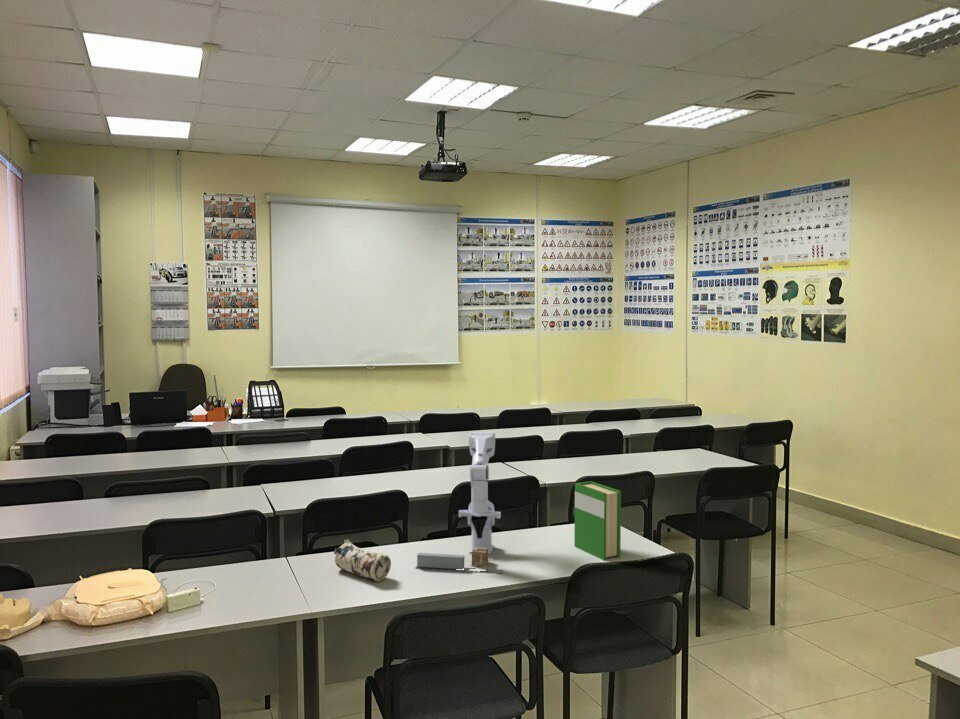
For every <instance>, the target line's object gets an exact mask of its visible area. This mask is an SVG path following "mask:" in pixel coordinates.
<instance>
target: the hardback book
mask: <svg viewBox="0 0 960 719" xmlns="http://www.w3.org/2000/svg"><path fill="white" fill-rule="evenodd" d="M621 504H622V491H621V490H619V489H616V488H613V487H610V486H606V485H604V484H600V483H597V482H593V481H591V480H590V481H583V482H576V483H574V548H577V549H579V550H581V551H583V552H585V553H586V554H589V555H591V556H594V557H596V558H598V559H600V560H602V561H606V560H607V558H611V557H616V558H621V539H622V538H621V535H622V534H621V525H622V524H621V521H622V518H621V513H622V512H621V511H622V505H621Z"/></svg>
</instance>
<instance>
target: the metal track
mask: <svg viewBox="0 0 960 719" xmlns="http://www.w3.org/2000/svg"><path fill="white" fill-rule="evenodd" d="M415 568H420V569H419V570H432V569H436V570H435V571H448V570H456V569H451V568H434V567H418V566H417V565H416V567H415ZM470 569H476V568H475V567H464V571H469V570H470ZM486 569H487V570H486V571H480V572H479V573H481V572H487V573H486V574H498V575H501V574H503V572H504V569H495V568H493V569H492V568H486ZM464 571H463V572H464ZM455 572H458V571H457V570H456V571H455ZM475 573H478V572H477V571H476V572H475Z"/></svg>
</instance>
